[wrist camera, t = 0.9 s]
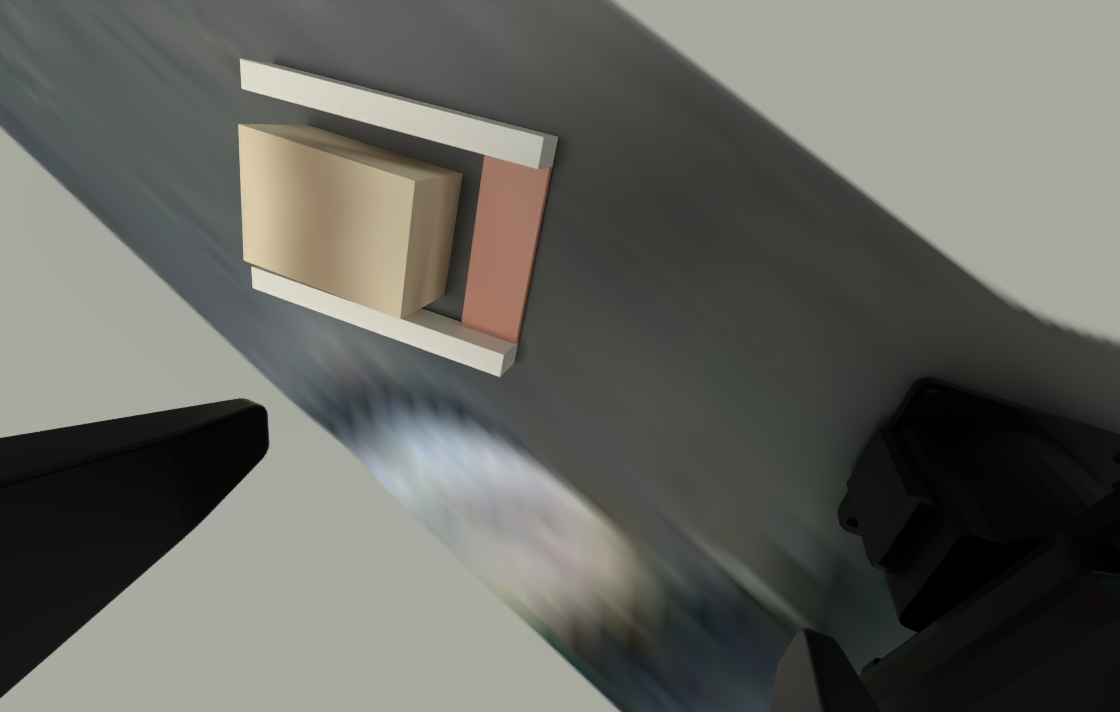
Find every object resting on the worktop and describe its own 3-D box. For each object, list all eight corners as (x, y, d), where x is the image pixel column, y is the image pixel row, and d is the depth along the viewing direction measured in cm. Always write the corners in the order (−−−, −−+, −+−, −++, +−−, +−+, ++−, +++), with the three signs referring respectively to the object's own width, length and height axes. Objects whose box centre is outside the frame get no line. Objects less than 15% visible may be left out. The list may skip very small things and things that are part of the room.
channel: (558, 136, 18) (543, 136, 17) (514, 362, 22) (499, 376, 21) (272, 63, 21) (240, 58, 19) (279, 279, 25) (252, 288, 23)
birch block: (465, 173, 20) (415, 180, 17) (447, 293, 22) (400, 319, 19) (311, 125, 21) (238, 123, 18) (309, 243, 24) (243, 260, 21)
